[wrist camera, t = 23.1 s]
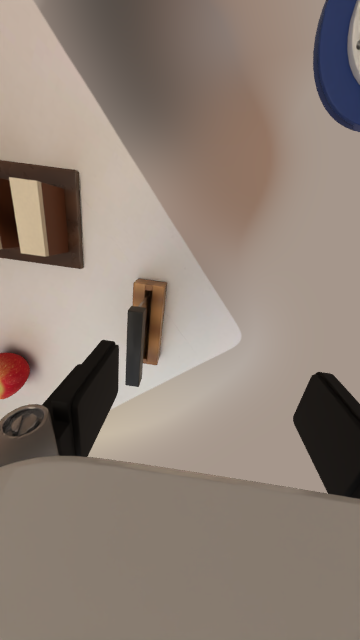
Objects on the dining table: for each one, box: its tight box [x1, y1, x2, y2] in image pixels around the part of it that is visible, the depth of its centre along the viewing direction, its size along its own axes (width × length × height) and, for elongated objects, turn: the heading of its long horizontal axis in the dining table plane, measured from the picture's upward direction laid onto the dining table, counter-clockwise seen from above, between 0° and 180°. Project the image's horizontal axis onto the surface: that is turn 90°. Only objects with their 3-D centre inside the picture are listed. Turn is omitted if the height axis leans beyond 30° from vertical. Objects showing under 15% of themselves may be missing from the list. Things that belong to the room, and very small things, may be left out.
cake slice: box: [9, 177, 69, 257], centre depth 31 cm, size 9×4×6 cm, turn 173°
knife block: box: [133, 279, 167, 365], centre depth 39 cm, size 15×5×3 cm, turn 173°
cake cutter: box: [126, 291, 152, 387], centre depth 35 cm, size 12×2×10 cm, turn 173°
